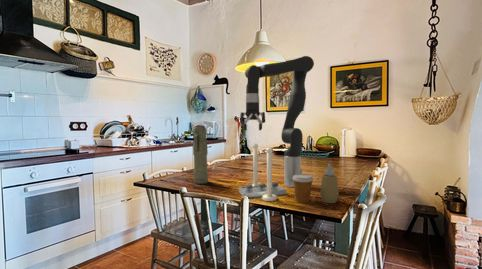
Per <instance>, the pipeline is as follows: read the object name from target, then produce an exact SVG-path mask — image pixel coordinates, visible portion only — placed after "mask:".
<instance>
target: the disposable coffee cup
mask: <svg viewBox="0 0 482 269" xmlns="http://www.w3.org/2000/svg"><path fill="white" fill-rule="evenodd" d="M293 180H294V187H293V188H294V194H295V201H296V202H298V203H303V204H304V203H306V204H307V203H309V202H310V200H311V194H312V193H311V192H312V184H313V181H314V177H313V175H311V174H309V173H302V174H295V175H293Z"/></svg>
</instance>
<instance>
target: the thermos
mask: <svg viewBox="0 0 482 269" xmlns="http://www.w3.org/2000/svg"><path fill="white" fill-rule="evenodd" d="M208 151H209V150H208V144H207V129H206V126H205V125H201V124H200V125H195V126H194V127H193V145H192V155H193V167H194V169H193V183H194V184H196V185H204V184H208V183H209V171H208Z"/></svg>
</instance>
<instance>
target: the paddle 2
mask: <svg viewBox="0 0 482 269" xmlns="http://www.w3.org/2000/svg"><path fill="white" fill-rule="evenodd" d="M278 185H279V182H277V181H274V182H273V181H272V187H273V188H274V187H277V186H278Z"/></svg>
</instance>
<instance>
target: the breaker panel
mask: <svg viewBox="0 0 482 269" xmlns="http://www.w3.org/2000/svg"><path fill="white" fill-rule="evenodd" d="M265 185H266V187H265V188H259V186H253V188H252V189H249V190H248V189H246V186H239V187H238V193H239V194H241V195H242V197H243V196H247V197H249V198H262V196H263V195H265V194H267V184H265ZM272 194H274V195H276V196H284V195H287V189H286V188H284V187H283V186H281V185H279V184H278V186H277V187H274V188H273V187H272ZM249 198H248V199H249Z"/></svg>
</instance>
